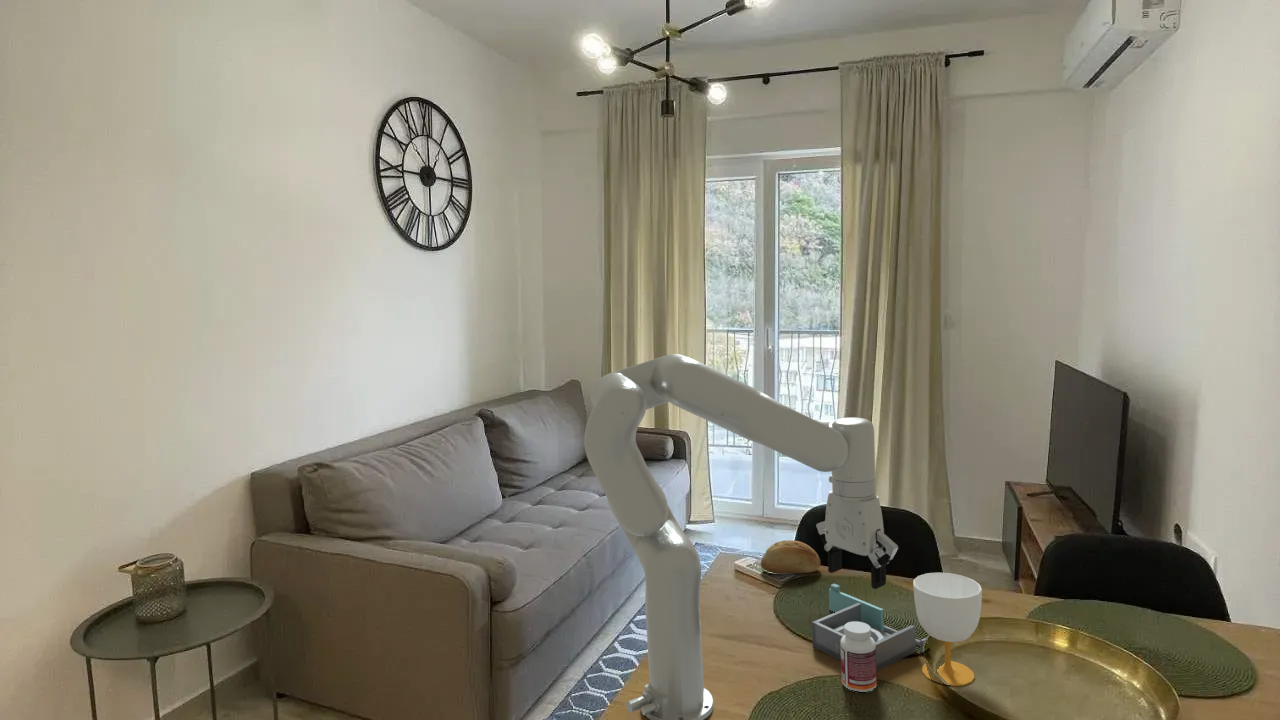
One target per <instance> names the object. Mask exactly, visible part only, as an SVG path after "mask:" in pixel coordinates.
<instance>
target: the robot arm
mask: <svg viewBox="0 0 1280 720" xmlns="http://www.w3.org/2000/svg"><path fill="white" fill-rule="evenodd" d="M590 392H591V393H590V403H591V405H592V410H591V411H590V412H591V413H590V414H589V417H588V419H587V422H586V425H585V430H584V437H583V439H584V441H583V444H584V449H585V454H586V458H587V460H588V463H589V465H590V467H591V470H592V471H593V473H594V475H595V477H596V479H597V481H598V483H599V485H600V487H601V489H602V491H603V492H604V495H605V496H606V498H607V502H608V505H609V507H610V510H611V512H612V514H613V516H614V518H615V519H616V521H617V523H618V524H619V526H620V527H621V529H622V532H623V533H624V534H625V535H624V536H626V538H627V540H628V541H629V543H630V545H631V548H632V549H633V550H634V553H635V555H636V556H637V558H638V560H639V562H640V565H641V567H642V569H643V572H644V578H645V581H644V582H645V597H644V602H645V603H644V604H645V605H644V606H645V611H644V613H645V626H646V640H647V642H646V643H647V658H648V675H649V678H648V679H649V683H647V684H645V685H644V692H642V693H641V694H640V696H638V697H635V698H633V699H630V700H628V701H626V703H625V704H626V709H627V712H629V713H630V714H632V713H634V712H637V711H639V710H640V712H641V714H642V715H643V716H645V717H646V718H647V719H648V720H705V719H707V718H708V717H709V716H710V715H711V713H712V712H713V710H714V698H713V695H712V694H711V692H710V691H709V690H708V689H706V688H705V684H704V665H703V663H704V662H703V646H702V645H703V643H702V642H703V640H702V624H701V623H702V622H701V605H700V604H701V601H700V596H701V595H700V594H701V582H702V565H701V563H702V562H701V559H700V556H699V553H698V551H697V549H696V547H695V545H694V544H693V542H692V541H691V540H690V538H689V537H688V536H687V534H686V533H685V532H684V531H683V529H682V527H681V526H680V524H679V523H678V521H677V519H676V518H675V516H674V514H673V512H672V510H671V508H670V506H669V504H668V500H667V497H666V494H665V493H664V490H663V488H662V487H661V486H660V484H659V483H658V482H657V481H656V480H655V478H654V475H653V474H652V473H651V471H650V469H649V467H648V465H647V464H646V461H645V459H644V457H643V455H642V453H641V450H640V449H639V447H638V444H637V440H636V439H637V436H636V434H637V431H638V427H639V426H640V425H641V422H642V421H643V419H644V417H645V414H646V411H647V410H650V409H652V408H655V407H658V406H661V405H663V404H667V403H670V404H671V405H674V406H675V407H678V408H680V409H681V410H683V411H686V412H688V413H690V414H692V415H695V416H697V417H700V418H701V419H703V420H706V421H708V422H710V423H712V424H714V425H716V426H718V427H721V428H723V429H725V430H726V431H728V432H731V433H733V434H736V436H739V437H741V438H743V439H745V440H748V441H751V442H754V443H757V444H760V445H761V446H764V447H765V448H766V447H767V448H769V449H771V450H773V451H775V452H778V453H779V454H782V455H784V457H785V456H786V457H787V458H790V459H792V460H794V461H796V462H798V463H801V464H803V465H805V466H807V467H809V468H811V469H813V470H816V471H818V472H822V473H830V472H831V475H830V476H829V477H828V481H829V483H831V486H832V487H831V490H830V491H829V492H828V496H827V501H826V507H825V519H824V521H820V522H818V523H816V526H815V527H816V528H817V532H818V535H819V539H820V541H821V542H822V544H823V545H824V546H823V547H824V550H825V551H826V552H827V570H828V573H830V574H833V573H835V572H837V571H841V570H842V569H843V551H847V552H850V553H853V554H856V555H860V556H862V557H863V556H864V557H866V556H867V557H868V558H869V560H870V561H871V563H872V566H870V567H871V568H870V579H871V580H870V584H871V586H870V587H872V589H874V590H877V589H879V588H881V587H883V586H885V585H886V583H887V569H886V568H887V565H888V564H890V562H891V561H893V560H894V559H895V556H896V553H897V552H898V550H899V546H898V544H897V543H895V542H894V541H893V540H892V539H891V538H890V537H889V536H888V535H887V534H885V528H884V519H883V513H882V508H881V507H882V506H881V503H880V499H879V496H878V495H877V488H876V487H877V486H876V450H875V446H876V445H875V428H874V427H875V426H874V424H873V423H872V422H871V421H870V419H866V418H863V417H854V416H852V417H842V418H837V419H832V420H831V419H826V420H825V419H814V418H811V417H809V416H807V415H805V414H803V413H802V412H799V411H798V410H794V409H792V408H791V407H789V406H787V405H784V404H783V403H781V402H779V400H776V399H774V398H772V397H771V396H770V395H768V394H766V393H764V392H762V391H760V390H758V389H756V388H755V387H753V386H750V385H749V384H747V383H744V382H741V381H739V380H738V379H735V378H733V377H731V376H729V375H728V374H725V373H723V372H721V371H719V370H717V369H715V368H713V367H710V366H709V365H707V364H704V363H702V362H701V361H698V360H696V359H694V358H691V357H688V356H686V355H683V354H679V353H670V354H666V355H663V356H660V357H657V358H653V359H649V360H648V361H644V362H641V363H638V364H635V365H631V366H628V367H625V368H621V369H619V370H615V371H613V372H609V373H607V374H604V375H603V376H601V377H600V378H599V379H598V380H597V381H596V382H595V383H594V384H593V386H592V389H591V391H590ZM884 548H885V551H884V550H883V549H884ZM842 550H843V551H842Z"/></svg>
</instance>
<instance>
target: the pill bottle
mask: <svg viewBox="0 0 1280 720" xmlns="http://www.w3.org/2000/svg"><path fill="white" fill-rule="evenodd" d="M844 634H845V635H844V636H843V637H842V638H841V642H840V646H841V661H840V668H841V669H840V671H841V675H840V677H841V683H842V686H843V685H844V686H845V687H846V688H845V687H844V688H845V689H847V688H848V689H847V690H849V689H850V690H849V691H851V690H854V691H859V692H867V691H870V692H873V691H874V690H875V689H876V688H877V685H878V681H877V678H878V677H877V671H876V644H875V641H874V639H873V638H872V637H871V627H870V626H869V625H868V624H866V623H863V622H856V621H854V622H848V623H846V624H845V625H844ZM874 688H875V689H874ZM873 689H874V690H873ZM854 691H853V692H854ZM867 693H868V692H867Z"/></svg>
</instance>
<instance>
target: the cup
mask: <svg viewBox="0 0 1280 720" xmlns="http://www.w3.org/2000/svg"><path fill="white" fill-rule="evenodd" d="M912 584H913V596H914V597H913V598H914V605H915V612H916V616H917V619H918V623H919V624H920V626H921V627H922V628H923V630H924V631H925V632H926V633H927V634H928V635H929V636H930V637H932V638H934V639H936V640H938V641H941V642H943V643H944V646H943V647H944V660H945V663H944V664H943V665H942V666H940V667H939V669H937V672H938V673H939V675H940V676H941V677H942V678H943V679H944V680H945V681H946V682H947V683H948V684H949V685H951V686H950V687H962V686H963V687H964V686H967V685H969V684H972V683H973V682H974V680H975V678H976V677H975V672H974V671H973V670H972V669H970V667H968V666H966V665H965V664H962V663H960V662H958V661H955V660H954V661H953V660H952V658H951V654H952V653H951V651H952V643H958V642H963V641H965V640H967V639H969V638H970V637H971V636H972V634H973V633H974V632H975V631H976V629H977V628H978V625H979V622H980V618H981V612H982V604H983V603H982V602H983V590H982V586H981V585H980V583H978V582H977V581H976V580H975V579H972V578H969V577H967V576H964V575H961V574H956V573H950V572H949V573H948V572H929V573H928V572H927V573H924V574H921V575H917V577H915V578H914V579H913V582H912ZM926 663H927V662H925V663H924V664H923V665H922V667H921V670H922V674H923V675H924V676H925V678H927V679H928V680H930V681H932V680H931V678H930V676H929V674H928V671H927V667H926Z"/></svg>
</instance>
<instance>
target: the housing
mask: <svg viewBox="0 0 1280 720" xmlns="http://www.w3.org/2000/svg"><path fill="white" fill-rule="evenodd" d="M854 621H856V622H862V617H861V604H860V603H856V604H854V605H852V606H849V607H847V608H844V609H842V610H840V611H837V612H835V613H834V612H832V613H831V614H828V615H826V616H824V617H821V618H818V619H817V620H814V621H812V622H811V627H812V647H813V648H815V649H817V650H819V651H821V652H822V653H825V654H827V655H829V656H830V657H832V658H834V659H837V660H839V661H840V662H841V646H840V642H841V638H842V637H843V636H844V635H845V634H844V625H845V624H846V623H848V622H854ZM863 623H864V622H863ZM869 626H870V627H871V637H872V638H873V639H874V641H875V644H876V672H878V671H880V670H883V669H884V668H886V667H888V666H890V665H892V664H894V663H896V662H898V661H901V660H902V659H903V658H905V657H908V656H909V655H911V654H914V653H916V652H917V646H919V648H920V653H922V654H924V653H923V647H924V644H925V642H926V641H927V642H928V638H927V637H924V638H922V639H917V638H916V626H915V625H914V624H913V625H912V624H910V625H909V626H906V627H904V628H903V629H900V630H896V629H894V628H892V627H889V626H887V625H884V631H882V630H880V629H877V628H875V627H873V626H871V625H869Z"/></svg>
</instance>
